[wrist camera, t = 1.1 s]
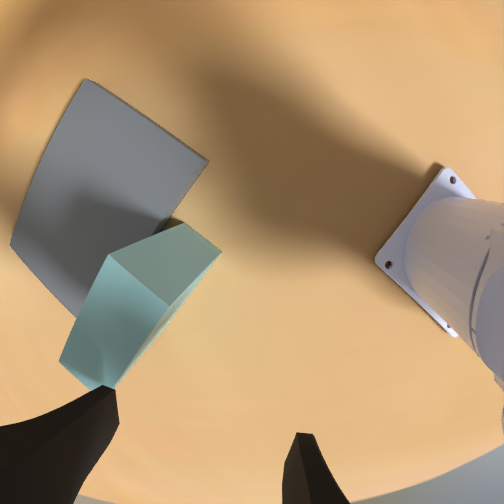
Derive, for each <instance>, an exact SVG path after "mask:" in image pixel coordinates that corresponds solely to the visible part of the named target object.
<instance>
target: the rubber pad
mask: <svg viewBox="0 0 504 504" xmlns="http://www.w3.org/2000/svg"><path fill="white" fill-rule="evenodd" d="M208 162H209V161H208V160H207V159H205V158H204V157H203V156H201V155H200V154H198V153H197V152H196V151H194V150H193V149H192V148H190V147H189V146H188V145H186V144H185V143H183V142H182V141H181V140H179V139H178V138H176V137H175V136H174V135H172V134H171V133H169V132H168V131H167V130H165V129H164V128H162V127H161V126H160V125H158V124H157V123H155V122H154V121H152V120H151V119H150V118H148V117H147V116H145V115H144V114H142V113H141V112H139V111H138V110H137V109H135V108H134V107H132V106H131V105H129V104H128V103H126V102H125V101H123V100H122V99H120V98H119V97H117V96H116V95H114V94H113V93H111V92H110V91H108V90H107V89H105V88H104V87H102V86H101V85H99V84H98V83H96V82H93V81H91V80H89V79H86V78H85V80H84V82H83V83H82V85H81V86H80V88H79V89H78V91H77V93H76V94H75V96H74V98H73V99H72V101H71V103H70V104H69V106H68V108H67V110H66V111H65V113H64V115H63V117H62V119H61V120H60V122H59V124H58V126H57V128H56V130H55V132H54V134H53V136H52V138H51V140H50V142H49V144H48V146H47V148H46V150H45V152H44V154H43V156H42V159H41V161H40V163H39V165H38V168H37V170H36V172H35V175H34V177H33V179H32V182H31V184H30V187H29V189H28V192H27V194H26V197H25V200H24V202H23V205H22V208H21V211H20V214H19V217H18V220H17V223H16V226H15V229H14V232H13V235H12V239H11V242H10V246H11V247H12V249H13V250H14V251H15V252H16V254H17V255H18V256H19V257H20V258H21V260H22V261H23V262H24V263H25V264H26V265H27V267H28V268H29V269H30V270H31V271H32V272H33V273H34V275H35V276H36V277H37V278H38V279H39V280H40V281H41V282H42V283H43V285H44V286H45V287H46V288H47V289H48V290H49V291H50V292H51V293H52V294H53V295H54V296H55V297H56V298H57V299H58V300H59V301H60V302H61V303H62V304H63V305H64V306H65V307H66V308H67V309H68V310H69V311H70V312H71V313H72V314H73V315H74V316H75V317H76V318H77V316H78V314H79V312H80V310H81V308H82V306H83V303H84V301H85V299H86V297H87V295H88V293H89V291H90V289H91V287H92V285H93V283H94V281H95V279H96V277H97V275H98V273H99V271H100V269H101V267H102V265H103V263H104V261H105V260H106V258H107V256H108V254H110V253H112V252H115V251H117V250H119V249H122V248H124V247H126V246H129V245H131V244H133V243H136V242H138V241H141V240H143V239H145V238H148V237H150V236H153V235H155V234H157V233H160V232H161V230H162V229H163V227H164V226H165V224H166V223H167V221H168V220H169V218H170V217H171V215H172V214H173V212H174V211H175V209H176V208H177V206H178V205H179V203H180V202H181V200H182V199H183V198H184V196H185V195H186V193H187V192H188V190H189V189H190V187H191V186H192V185H193V183H194V182H195V180H196V179H197V178H198V176H199V175H200V173H201V172H202V171H203V169H204V168H205V167H206V165H207V164H208Z"/></svg>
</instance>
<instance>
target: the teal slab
mask: <svg viewBox="0 0 504 504" xmlns="http://www.w3.org/2000/svg"><path fill="white" fill-rule="evenodd" d="M221 252H222V251H221V250H219V249H218V248H217V247H216V246H214V245H213V244H212V243H211V242H209V241H208V240H207V239H205V238H204V237H203V236H202V235H200V234H199V233H198V232H197V231H195V230H194V229H193V228H192V227H190V226H189V225H188V224H186V223H182V224H180V225H177V226H175V227H172V228H170V229H167V230H165V231H162V232H160V233H157V234H155V235H153V236H150V237H148V238H145V239H143V240H141V241H138V242H136V243H133V244H131V245H129V246H126V247H124V248H122V249H119V250H117V251H115V252H112V253H110V254H108V256H107V258H106V260H105V261H104V263H103V265H102V267H101V269H100V271H99V273H98V275H97V277H96V279H95V281H94V283H93V285H92V287H91V289H90V291H89V293H88V295H87V297H86V299H85V301H84V303H83V306H82V308H81V310H80V312H79V314H78V316H77V319H76V321H75V323H74V325H73V328H72V330H71V332H70V335H69V337H68V339H67V342H66V344H65V347H64V349H63V351H62V354H61V356H60V359H59V362H60V363H61V364H62V365H63V366H64V367H65V368H66V369H67V370H68V371H69V372H70V373H72V374H73V375H74V376H75V377H76V378H77V379H78V380H79V381H80V382H82V383H83V384H84V385H85V386H86V387H87V388H88V389H90V390H91V391H92V390H94V389H96V388H97V387H99V386H101V385H104V386H107V387H110V388H112V389H114V388H115V387H116V386H117V385H118V384H119V382H120V381H121V380H122V379H123V378H124V376H125V375H126V374H127V373H128V371H129V370H130V369H131V368H132V367H133V365H134V364H135V363H136V362H137V361H138V359H139V358H140V357H141V356H142V355H143V353H144V352H145V351H146V350H147V349H148V347H149V346H150V345H151V344H152V343H153V341H154V340H155V339H156V338H157V337H158V336H159V334H160V333H161V332H162V331H163V330H164V328H165V327H166V326H167V325H168V323H169V322H170V321H171V319H172V318H173V316H174V315H175V314H176V312H177V311H178V310H179V308H180V307H181V306H182V304H183V303H184V302H185V300H186V299H187V298H188V296H189V295H190V294H191V292H192V291H193V290H194V288H195V287H196V286H197V284H198V283H199V282H200V280H201V279H202V278H203V276H204V275H205V274H206V272H207V271H208V270H209V268H210V267H211V266H212V264H213V263H214V262H215V260H216V259H217V258H218V256H219V255H220V254H221Z"/></svg>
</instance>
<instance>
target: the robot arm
mask: <svg viewBox="0 0 504 504" xmlns="http://www.w3.org/2000/svg"><path fill="white" fill-rule="evenodd" d="M450 177H452V178H453V183H452V184H451V183H450ZM387 261H391V265H390V266H389V267H387V268H386V267H385V264H386V262H387ZM375 263H376V264H377V265H378V266H379V267H380V268H381V269H382V270H383V271H384V272H385V273H386V274H387V275H388V276H390V277H391V278H392V279H393V280H394V281H395V282H396V283H397V284H398V285H399V286H400V287H401V288H403V289H404V290H405V291H406V292H407V293H408V294H409V295H410V296H411V297H412V298H413V299H414V300H415V301H416V302H417V303H418V304H419V305H420V306H421V307H423V308H424V309H425V310H426V311H427V312H428V313H429V314H430V315H431V316H432V317H433V318H434V319H435V320H436V321H437V322H438V323H439V324H440V325H441V326H442V327H443V328H444V329H445V330H446V331H447V332H448V333H449V334H450V335H451V336H452V337H453V338H454V337H458V336H460V337H461V338H462V339H463V340H464V342H465V343H466V344H467V345H468V346H469V347H470V348H471V349H472V350H473V351H474V352H475V353H476V354H477V355H478V357H480V358H481V360H482V361H483V362H484V363H485V364H486V365H487V367H488V368H489V369H491V370H492V371H493V372H494V380H495V381H496V383H497V384H498V385H499V386H500V387H501V389H502V390H503V391H504V203H499V202H493V201H486V200H479V199H476V197H475V196H474V195H473V194H472V192H471V191H470V190H469V189H468V187H467V186H466V185H465V184H464V183H463V182H462V180H461V179H460V178H459V177H458V176H457V175H456V173H455V172H454V171H453V170H452V169H451V168H450V167H443V168H442V169H441V170H440V171H439V173H438V174H437V175H436V177H435V178H434V180H433V181H432V183H431V184H430V185H429V187H428V188H427V189H426V191H425V192H424V194H423V195H422V196H421V198H420V199H419V200H418V202H417V203H416V204H415V206H414V207H413V208H412V210H411V211H410V212H409V214H408V215H407V216H406V218H405V219H404V220H403V221H402V223H401V224H400V225H399V227H398V228H397V229H396V230H395V232H394V233H393V234H392V235H391V237H390V238H389V239H388V240H387V242H386V243H385V244H384V245H383V247H382V248H381V249H380V250H379V251H378V253H377V254H376V256H375ZM447 324H448V326H447ZM118 425H119V416H118V409H117V401H116V392H115V389H112V388H110V387H107V386H104V385H101V386H99V387H97V388H96V389H94V390H92V391H90V392H88V393H86V394H85V395H83V396H81V397H79V398H77V399H75V400H74V401H72V402H70V403H68V404H66V405H64V406H62V407H60V408H57V409H55V410H53V411H51V412H48V413H46V414H44V415H41V416H39V417H36V418H33V419H30V420H26V421H23V422H19V423H15V424H10V425H5V426H0V504H73V503H74V501H75V498H76V496H77V494H78V492H79V490H80V488H81V486H82V484H83V482H84V481H85V479H86V477H87V476H88V474H89V473H90V472H91V470H92V469H93V467H94V466H95V464H96V463H97V461H98V460H99V458H100V457H101V456H102V454H103V453H104V451H105V450H106V448H107V447H108V445H109V444H110V442H111V440H112V438H113V436H114V434H115V432H116V430H117V428H118ZM502 429H503V433H504V406H503V411H502ZM282 504H350V502H349V501H348V500H347V498H346V497H345V495H344V494H343V492H342V491H341V489H340V488H339V486H338V484H337V483H336V481H335V479H334V477H333V476H332V474H331V472H330V470H329V468H328V466H327V464H326V462H325V460H324V458H323V456H322V454H321V451H320V449H319V447H318V444H317V442H316V439H315V437H314V435H313V434H307V433H298V432H297V433H296V436H295V438H294V441H293V443H292V446H291V449H290V451H289V453H288V456H287V458H286V461H285V463H284V472H283V482H282Z"/></svg>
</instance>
